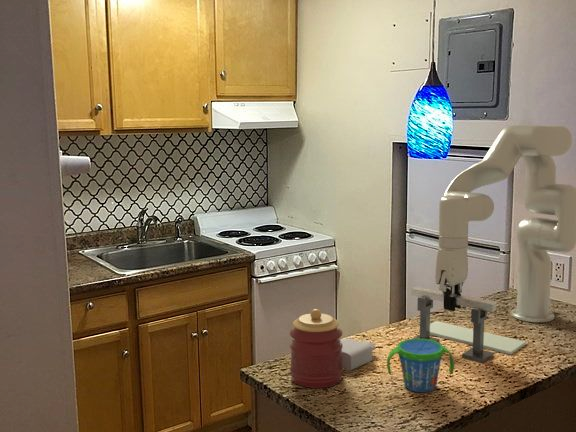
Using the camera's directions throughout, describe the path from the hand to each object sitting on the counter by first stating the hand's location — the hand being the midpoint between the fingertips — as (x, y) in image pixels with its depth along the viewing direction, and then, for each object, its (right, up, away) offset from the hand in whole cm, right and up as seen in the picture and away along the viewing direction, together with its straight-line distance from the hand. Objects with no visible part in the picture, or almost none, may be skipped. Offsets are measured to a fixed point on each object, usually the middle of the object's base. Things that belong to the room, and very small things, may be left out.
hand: (452, 308), depth 171 cm
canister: (-37, -15, -15) cm, 43 cm away
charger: (-27, -13, -3) cm, 30 cm away
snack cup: (-13, -16, -21) cm, 30 cm away
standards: (0, -12, +2) cm, 12 cm away
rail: (0, +2, 0) cm, 2 cm away
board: (+8, -10, +10) cm, 17 cm away
